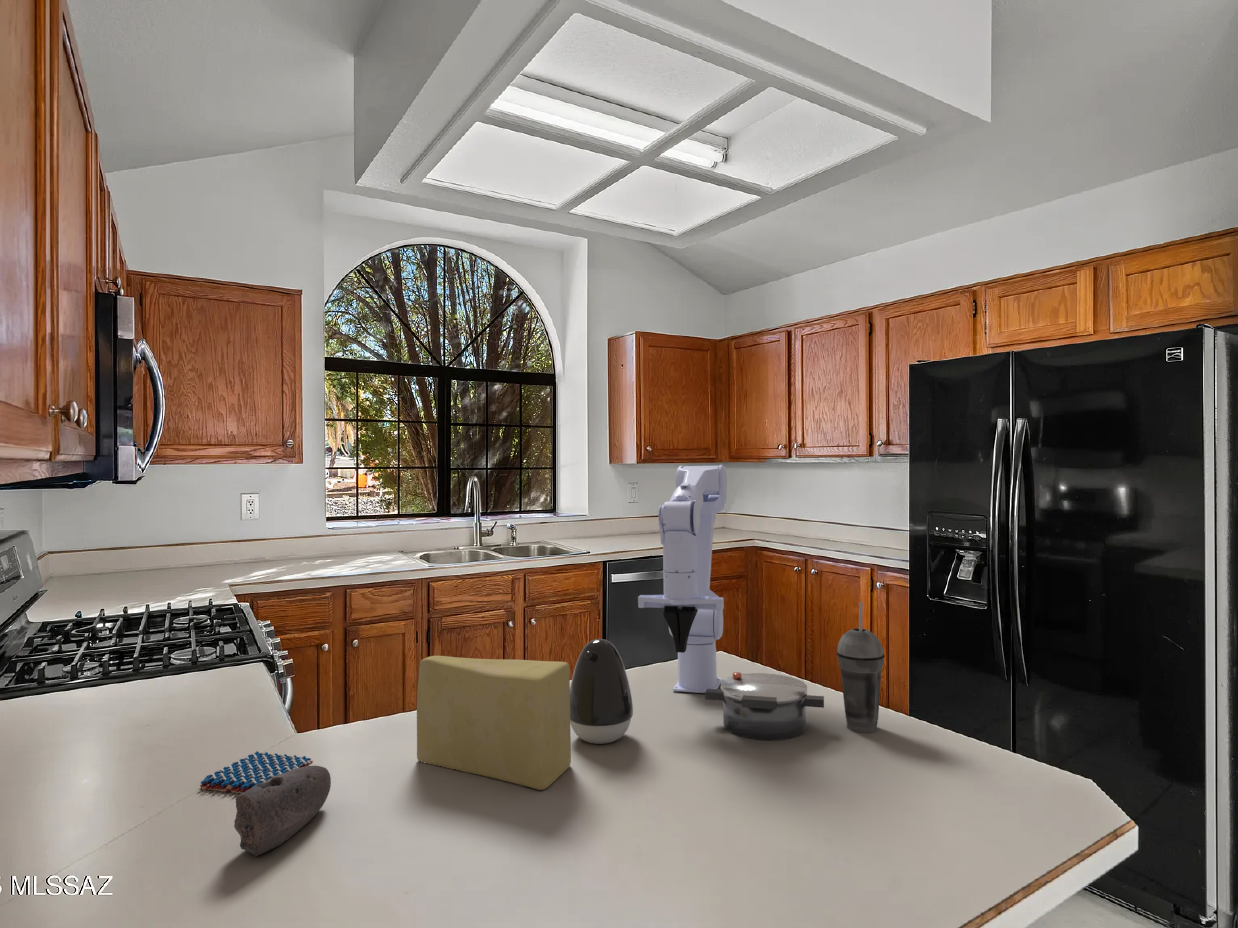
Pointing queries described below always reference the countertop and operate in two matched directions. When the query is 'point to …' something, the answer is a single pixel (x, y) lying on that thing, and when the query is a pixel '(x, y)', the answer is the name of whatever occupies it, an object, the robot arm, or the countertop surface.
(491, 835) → the countertop surface
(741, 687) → the cooker lid
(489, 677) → the cheese
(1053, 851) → the countertop surface
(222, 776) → the woven mat
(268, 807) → the perforated stone tool
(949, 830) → the countertop surface
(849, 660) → the beverage cup
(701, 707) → the countertop surface
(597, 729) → the black white egg shape
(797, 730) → the cooker pot
